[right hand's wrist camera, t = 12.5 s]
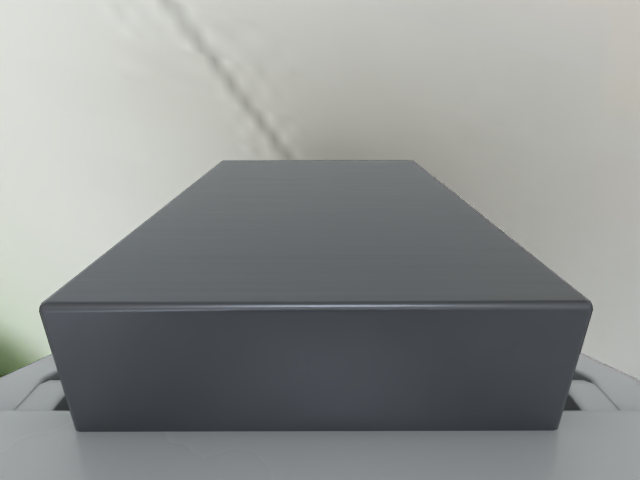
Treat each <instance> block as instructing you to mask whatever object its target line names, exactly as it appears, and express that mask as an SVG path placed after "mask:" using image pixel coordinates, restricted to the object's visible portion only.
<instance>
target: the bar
mask: <svg viewBox="0 0 640 480" xmlns="http://www.w3.org/2000/svg"><path fill="white" fill-rule="evenodd" d="M592 311H593V306H592V303H591V301H589V300H588V299H587V298H586V297H584V296H583V295H582V294H581V293H579V292H578V291H577V290H576V289H574V288H573V287H572V286H571V285H569V284H568V283H567V282H566V281H564V280H563V279H562V278H560V277H559V276H558V275H557V274H555V273H554V272H553V271H552V270H550V269H549V268H548V267H547V266H545V265H544V264H543V263H542V262H540V261H539V260H538V259H537V258H535V257H534V256H533V255H532V254H530V253H529V252H528V251H526V250H525V249H524V248H523V247H521V246H520V245H519V244H518V243H516V242H515V241H514V240H513V239H511V238H510V237H509V236H508V235H506V234H505V233H504V232H503V231H501V230H500V229H499V228H498V227H496V226H495V225H494V224H492V223H491V222H490V221H489V220H487V219H486V218H485V217H484V216H482V215H481V214H480V213H479V212H477V211H476V210H475V209H474V208H472V207H471V206H470V205H469V204H467V203H466V202H465V201H464V200H462V199H461V198H460V197H459V196H457V195H456V194H455V193H453V192H452V191H451V190H450V189H448V188H447V187H446V186H445V185H443V184H442V183H441V182H440V181H438V180H437V179H436V178H435V177H433V176H432V175H431V174H430V173H428V172H427V171H426V170H425V169H423V168H422V167H421V166H419V165H418V164H417V163H416V162H414V161H413V160H264V161H221V162H220V163H219V164H218V165H216V166H215V167H214V168H213V169H211V170H210V171H209V172H207V173H206V174H205V175H204V176H202V177H201V178H200V179H199V180H197V181H196V182H195V183H194V184H192V185H191V186H190V187H188V188H187V189H186V190H185V191H183V192H182V193H181V194H180V195H178V196H177V197H176V198H174V199H173V200H172V201H171V202H169V203H168V204H167V205H166V206H164V207H163V208H162V209H161V210H159V211H158V212H157V213H155V214H154V215H153V216H152V217H150V218H149V219H148V220H147V221H145V222H144V223H143V224H141V225H140V226H139V227H138V228H136V229H135V230H134V231H133V232H131V233H130V234H129V235H128V236H126V237H125V238H124V239H122V240H121V241H120V242H119V243H117V244H116V245H115V246H114V247H112V248H111V249H110V250H108V251H107V252H106V253H105V254H103V255H102V256H101V257H100V258H98V259H97V260H96V261H95V262H93V263H92V264H91V265H89V266H88V267H87V268H86V269H84V270H83V271H82V272H81V273H79V274H78V275H77V276H76V277H74V278H73V279H72V280H70V281H69V282H68V283H67V284H65V285H64V286H63V287H62V288H60V289H59V290H58V291H56V292H55V293H54V294H53V295H51V296H50V297H49V298H48V299H46V300H45V301H44V302H43V303H41V305H40V309H39V313H40V316H41V319H42V322H43V326H44V329H45V332H46V335H47V339H48V342H49V345H50V348H51V352H52V355H53V358H54V361H55V365H56V368H57V371H58V375H59V378H60V381H61V384H62V388H63V391H64V394H65V397H66V401H67V404H68V407H69V410H70V414H71V417H72V420H73V423H74V427H75V430H76V431H79V432H213V431H554V430H557V429H558V427H559V423H560V420H561V417H562V413H563V410H564V406H565V403H566V400H567V396H568V393H569V389H570V386H571V383H572V379H573V376H574V372H575V369H576V366H577V362H578V359H579V355H580V352H581V349H582V345H583V342H584V338H585V335H586V332H587V328H588V325H589V321H590V318H591V315H592Z"/></svg>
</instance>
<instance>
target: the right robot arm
mask: <svg viewBox="0 0 640 480" xmlns="http://www.w3.org/2000/svg"><path fill="white" fill-rule="evenodd" d="M0 480H640V381H639V380H638V379H636V378H634V377H631V376H629V375H627V374H625V373H623V372H621V371H619V370H616V369H614V368H612V367H610V366H608V365H606V364H603V363H601V362H599V361H597V360H595V359H593V358H591V357H588V356H586V355H584V354H582V353H580V355H579V359H578V362H577V366H576V369H575V372H574V376H573V379H572V383H571V386H570V389H569V393H568V396H567V400H566V403H565V406H564V410H563V413H562V417H561V420H560V423H559V427H558V429H557V430H554V431H213V432H79V431H76V430H75V427H74V423H73V420H72V417H71V414H70V410H69V407H68V404H67V401H66V397H65V394H64V391H63V388H62V384H61V381H60V378H59V375H58V371H57V368H56V365H55V361H54V358H53V355H52V354H51V355H49V356H46V357H44V358H42V359H40V360H38V361H36V362H33V363H31V364H29V365H27V366H25V367H22V368H20V369H18V370H16V371H14V372H12V373H9V374H7V375H5V376H3V377H1V378H0Z"/></svg>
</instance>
